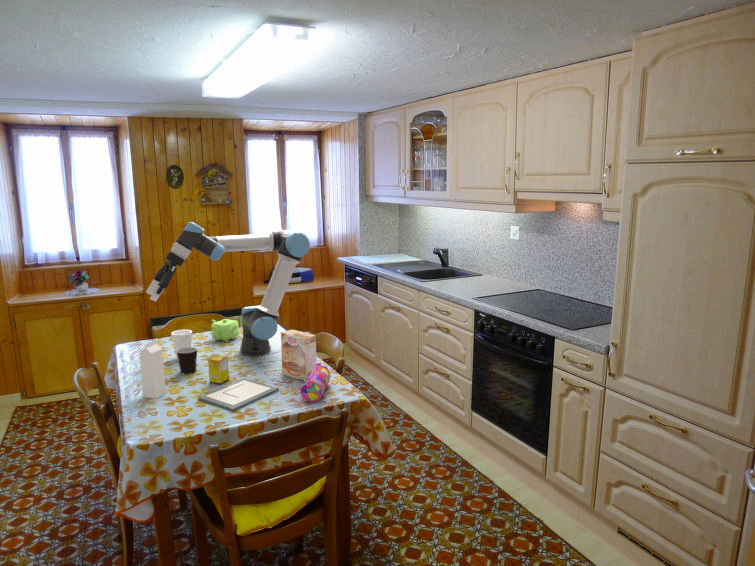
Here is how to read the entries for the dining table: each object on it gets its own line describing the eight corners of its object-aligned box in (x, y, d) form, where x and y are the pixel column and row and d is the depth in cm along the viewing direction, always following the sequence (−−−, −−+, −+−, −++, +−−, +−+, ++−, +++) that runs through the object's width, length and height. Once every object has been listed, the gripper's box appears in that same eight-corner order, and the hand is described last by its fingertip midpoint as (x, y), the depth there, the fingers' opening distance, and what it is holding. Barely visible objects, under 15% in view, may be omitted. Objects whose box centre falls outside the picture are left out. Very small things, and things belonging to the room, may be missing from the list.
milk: (143, 397, 208) (137, 343, 204) (153, 391, 214) (149, 339, 210) (155, 399, 207) (150, 345, 202) (166, 393, 212) (161, 340, 208)
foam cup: (168, 359, 252) (166, 333, 250) (182, 354, 261) (180, 328, 258) (184, 362, 249) (182, 335, 246) (198, 356, 257) (196, 330, 255)
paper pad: (244, 380, 226) (244, 377, 226) (278, 390, 215) (278, 387, 215) (198, 399, 206) (198, 396, 206) (233, 411, 195) (232, 408, 195)
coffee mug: (192, 375, 232) (190, 353, 230) (174, 374, 233) (172, 352, 231) (205, 366, 243) (204, 345, 241) (188, 365, 245) (187, 344, 243)
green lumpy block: (212, 344, 276) (211, 323, 274) (210, 337, 289) (209, 317, 287) (241, 341, 281) (240, 321, 279) (238, 334, 294) (237, 315, 292)
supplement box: (217, 378, 228) (216, 354, 226) (229, 380, 226) (228, 356, 224) (208, 383, 223) (207, 358, 221) (220, 385, 221) (219, 360, 219)
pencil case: (309, 382, 224) (308, 362, 222) (331, 383, 224) (330, 362, 222) (299, 403, 203) (299, 381, 201) (324, 404, 202) (323, 381, 201)
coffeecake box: (281, 374, 233) (280, 332, 229) (293, 370, 238) (292, 328, 235) (305, 382, 224) (304, 338, 220) (317, 377, 229) (316, 334, 226)
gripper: (165, 246, 236) (138, 287, 234) (175, 254, 215) (146, 298, 212) (180, 255, 240) (154, 295, 237) (191, 263, 219) (163, 307, 216)
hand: (150, 296), depth 225 cm, fingers open, 13 cm apart
